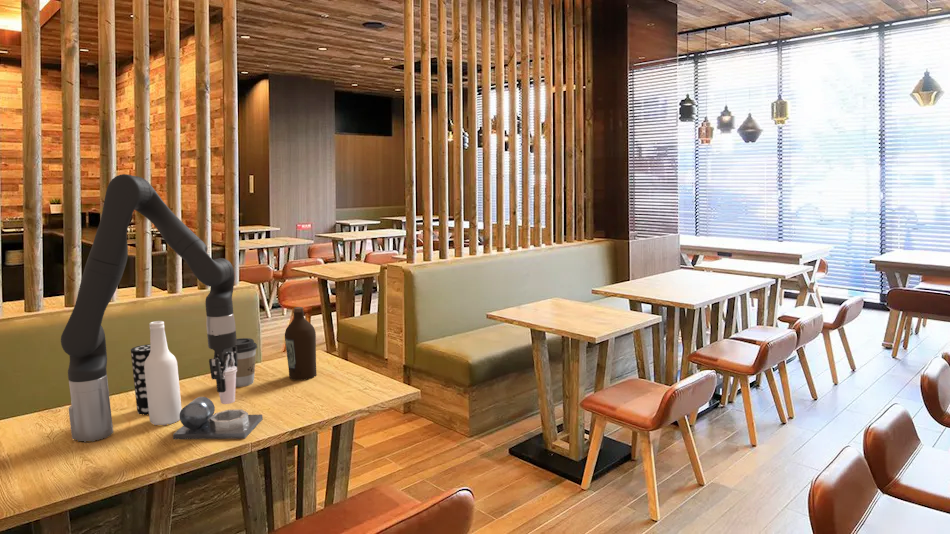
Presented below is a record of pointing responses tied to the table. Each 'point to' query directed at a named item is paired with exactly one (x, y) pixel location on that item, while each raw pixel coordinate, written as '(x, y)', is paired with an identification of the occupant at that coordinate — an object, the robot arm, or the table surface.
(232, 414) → the flat grey tray
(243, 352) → the coffee cup
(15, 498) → the table surface
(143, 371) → the white-spotted black cylinder
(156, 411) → the alcohol
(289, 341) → the olive oil
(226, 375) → the smoothie
